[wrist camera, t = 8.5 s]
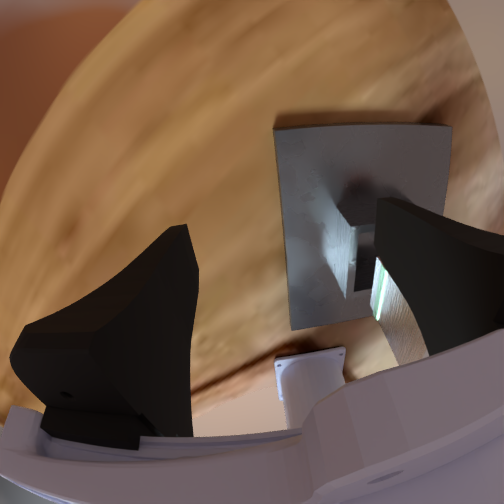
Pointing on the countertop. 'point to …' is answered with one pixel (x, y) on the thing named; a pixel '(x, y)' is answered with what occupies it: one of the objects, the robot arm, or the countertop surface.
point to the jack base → (349, 206)
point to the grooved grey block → (396, 318)
